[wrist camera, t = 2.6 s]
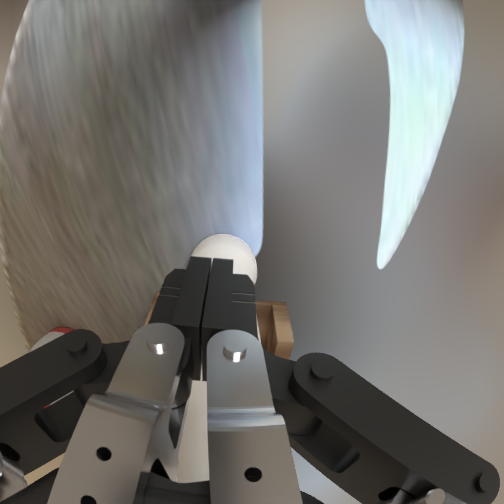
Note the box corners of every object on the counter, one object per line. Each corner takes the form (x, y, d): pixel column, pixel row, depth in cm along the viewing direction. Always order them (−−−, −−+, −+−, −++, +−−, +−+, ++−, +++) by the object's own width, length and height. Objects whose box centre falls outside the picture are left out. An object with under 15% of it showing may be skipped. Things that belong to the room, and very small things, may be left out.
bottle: (252, 226, 33) (276, 527, 7) (259, 282, 37) (281, 533, 11) (185, 234, 34) (102, 509, 7) (198, 289, 37) (163, 528, 11)
